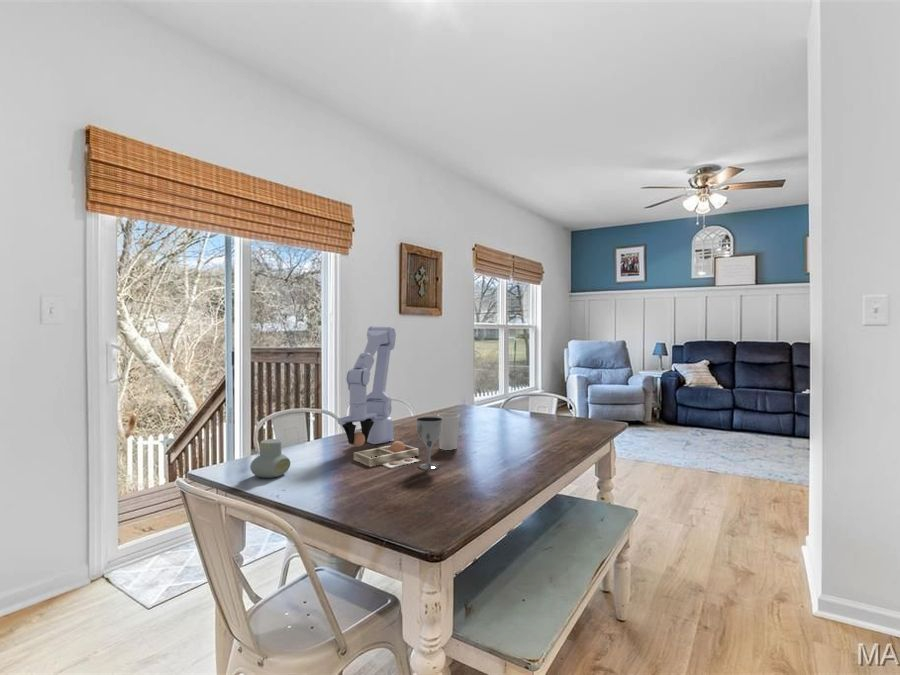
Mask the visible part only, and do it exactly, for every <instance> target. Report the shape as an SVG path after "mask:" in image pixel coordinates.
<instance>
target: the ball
mask: <svg viewBox="0 0 900 675" xmlns="http://www.w3.org/2000/svg"><path fill="white" fill-rule="evenodd" d="M390 445H391V447H390V450H391V452H394V453H397V452H401V451H405V445H406V444H405V443H403V441H401V440H394V441H392V443H391V444H390Z"/></svg>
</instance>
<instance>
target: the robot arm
mask: <svg viewBox="0 0 900 675" xmlns="http://www.w3.org/2000/svg"><path fill="white" fill-rule="evenodd" d="M396 336H397V335H396V329H395V327H394V326H391V325H390V326H373V325H371V326H369V327H368V328H367V332H366V338H367V343H366V346H365V348H364V351H363V352H361V353H360V354H359V356H358V358H357V359H356V361H355V363H354V366H353V368H351V369H349V370H348V371H347V373H346V378H345V379H346V383H347V390H348V391H349V415H348V416H347V415H346V416H343V417H338V421H337V422H338V423H337V424H338V425H340V426H342V428H343V430H344V432H345V435H346V438H347V441H348V444H350V445H352V444H354V433H356V432H355V431H356V428H357V427H356V426H357V425H356V424H354V423H360V430H361V433H363V434H364V436H365V442H366V443H368V444H372V445H377V444H378V445H379V444H383V443H388V442H389V441H390V442H395V439H394V421H393V418H392V417H390V416H391V414H392V407H393V406H392V398H391V397H390V396H389V395H388V394H387V393H386V389H387V388H386V386H387V383H388V382H387V380H388V372H389V371H388V370H389V365H390V356H391V351H392V350H394V349H395V345H396ZM375 353H376V360H375V358H374V356H375ZM374 362H375V369H374V374H373V375H374V377H373V384H372V389H371V391H370V393H368V394H367V385H369V382H370V378H371V377H370V376H371V370H372V368H373V365H374ZM365 442H364V443H365ZM390 442H389V443H390Z"/></svg>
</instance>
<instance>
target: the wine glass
mask: <svg viewBox="0 0 900 675" xmlns="http://www.w3.org/2000/svg"><path fill="white" fill-rule="evenodd" d="M416 431H417V435H418V438H419V439H420V441H421V442H422V443H423V444H424V446H425V447H426V451H427V463H423V464H419V465H420V466H419V465H418V466H419V467H420V468H421V469H435V468H437V467H438V465H439V464H437V465H436V463H431V455H432V449H433V446H434V445H435V444H436V442H437V441H439V437H440V435H441V431H442V418H440V417H437V416H421V417H417V418H416ZM421 469H420V470H421Z"/></svg>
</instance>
